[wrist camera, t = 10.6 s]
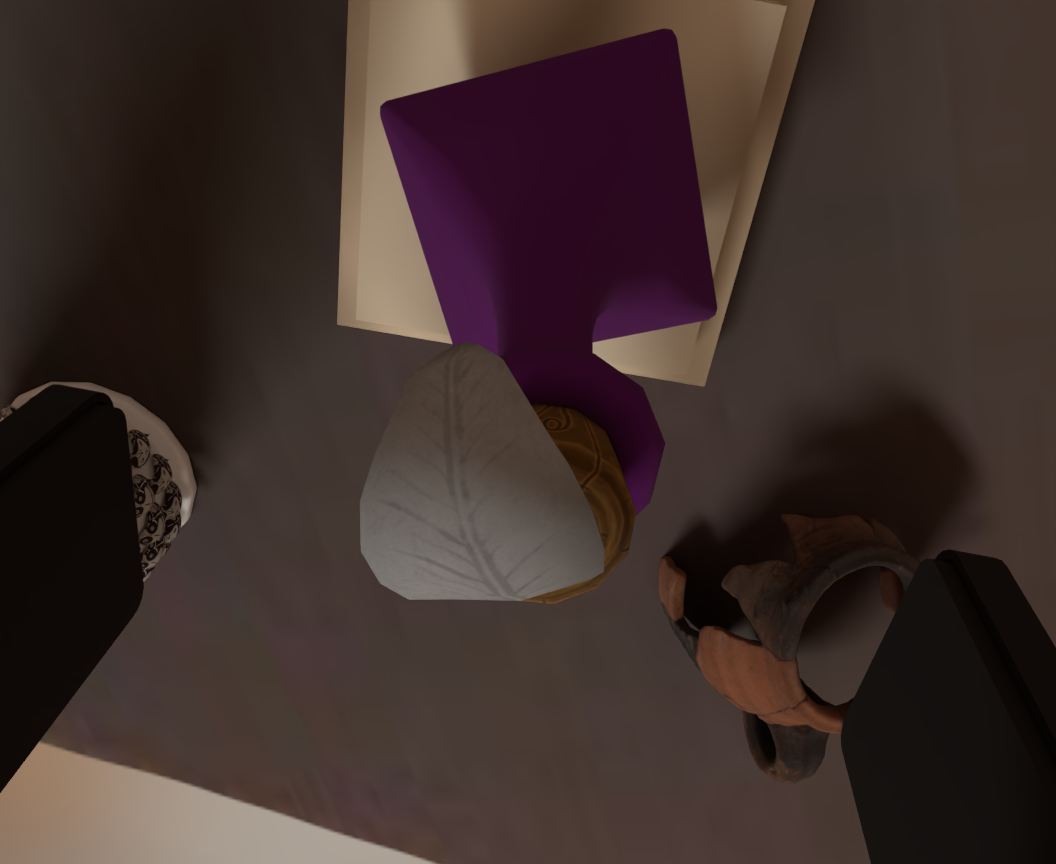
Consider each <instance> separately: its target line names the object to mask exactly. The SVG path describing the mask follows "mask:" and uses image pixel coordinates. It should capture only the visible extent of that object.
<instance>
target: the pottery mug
mask: <svg viewBox="0 0 1056 864" xmlns="http://www.w3.org/2000/svg"><path fill="white" fill-rule="evenodd" d="M781 519H782V521H783V522H784V523H785V524H786V526H787V528H788V531H789V533H790V540H791V544H792V547H793V552H794V556H795V563H794V564H792V563H788V562H785V561H782V560H767V561H762V562H759V563H756V564H752V565H742V564H741V565H737V566H735V567H733V568H732V569H731V570H730V571H729V572H728V574H727V575H726V576H725V577H724V578H723V580H722V584H721V585H722V588H724V589H725V590H726V591H728V592H729V593H730V594H731V595H732V596H733V597H735V598H737V599H738V600H739V604H740V607H741V609H742V611H743V612H744V614H745V615H746V616H747V618H748V619H749V620H750V622H751V623H752V625H753V627H754V629H755V631H756V632H757V634H758V636H759V638H760V641H756V640H749V639H745V638H743V637H740V636H737V635H735V634H733V633H731V632H729V631H728V630H726V629H724V628H722V627H720V626H709V625H707V626H704V627H702V628H701V629H700V632H699V631H696V630H694V629H692V628H691V627H689V625H688V623H687V622H686V620H685V618H684V594H685V586H686V579H687V576H686V573H685V572H684V571H682V570H681V569H679V568H677V567H676V565H675V563H674V561H673V560H672V558H671V557H670V556H663V558H662V559H661V561H660V567H659V572H658V588H659V594H660V599H661V604H662V607H663V610H664V612H665V614H666V616H667V617H668V619H669V621H670V625H671V627H672V629H673V631H674V633H675V635H676V636H677V637H678V638H679V640H680V641H681V643H682V645H683V647H684V648H685V649H686V651H687V653H688V655H689V656H690V658H691V659H692V660H693V662H694V663H695V665H696V666H697V667H698V669H699V670H700V671H701V672H702V673H703V675H704V676H705V678H706V679H707V681H708V682H709V683H710V684H712V685H713V687H714V688H715V689H716V690H717V691H719V692H720V693H721V694H722V695H723V696H725V697H726V699H727V700H729V701H730V702H731V703H732V704H734V705H735V706H737V707H738V708H740V709H741V710H742V714H743V722H744V728H745V733H746V737H747V741H748V744H749V748H750V751H751V754H752V756H753V758H754V760H755V762H756V764H757V766H758V767H759V768H760V769H761V770H762V771H763V772H764V773H766V774H767V775H769V776H770V777H771V778H772V779H774V780H776V781H779V782H782V783H785V784H794V783H796V782H798V781H800V780H804V779H807V778H809V777H811V776H812V775H814V774H815V772H816V771H817V769H818V768H819V766H820V765H821V763H822V760H823V758H824V755H825V748H826V743H827V739H828V736H829V734H830V733H835V734H838V733H839V734H841V731H842V725H843V721H844V718H845V716H846V713H847V711H848V709H849V707H850V705H851V703H852V701H853V699H854V698H853V699H851V700H850V701H849V702H846V703H843V704H840V705H837V706H835V705H833V704H831V703H829V702H826V701H824V700H822V699H821V698H820V697H819V696H818V695H817V694H816V693H815V692H813V691H812V690H811V689H810V688H809V687H808V686H807V685H806V684H805V683H804V682H803V681H802V679H801V678H800V676H799V671H798V663H797V658H796V654H797V650H798V645H799V640H800V636H801V632H802V628H803V626H804V624H805V621H806V619H807V617H808V615H809V614H810V612H811V611H812V609H813V607H814V605H815V603H816V602H817V601H818V600H819V598H820V597H821V596H822V594H823V593H824V592H825V591H826V590H827V589H828V588H829V587H830V586H831V585H832V584H833V583H834V582H835V581H837V580H838V579H840V578H842V577H843V576H845V575H846V574H849V573H851V572H853V571H856V570H858V569H861V568H864V567H868V566H874V565H875V566H883V567H886V568H883V569H882V570H881V571H880V576H879V579H880V589H881V593H882V599H883V602H884V605H885V606H886V608H887V609H889V610H890V611H893V612H896V611H897V609H898V607H899V605H900V603H901V601H902V599H903V597H904V594H905V592H906V590H907V588H908V586H909V584H910V582H911V580H912V578H913V576H914V574H915V572H916V570H917V568H918V566H919V565H920V563H921V562H920V561H919V560H918V559H916V558H915V557H913V556H912V555H910V554H909V553H907V552H906V550H905V549H904V547H903V545H902V543H901V542H900V541H899V540H898V538H897V537H896V536H895V534H894V533H893V532H892V531H891V530H889V528H887V527H886V526H884V525H883V524H881V523H880V522H878V521H877V520H875V519H873V518H871V517H865V518H863V519H862V518H860V517H859V516H858V515H855V514H848V515H841V516H838V517H830V518H814V517H806V516H803V515H797V514H782V515H781Z"/></svg>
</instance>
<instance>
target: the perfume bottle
mask: <svg viewBox="0 0 1056 864" xmlns="http://www.w3.org/2000/svg"><path fill="white" fill-rule="evenodd" d="M380 117H381V121H382V124H383V127H384V130H385V133H386V136H387V140H388V143H389V146H390V149H391V152H392V155H393V158H394V162H395V165H396V168H397V171H398V174H399V177H400V180H401V184H402V187H403V190H404V193H405V196H406V199H407V202H408V206H409V209H410V212H411V215H412V218H413V221H414V224H415V227H416V231H417V234H418V237H419V240H420V243H421V246H422V249H423V253H424V256H425V259H426V262H427V265H428V268H429V271H430V275H431V278H432V281H433V284H434V287H435V290H436V293H437V297H438V300H439V303H440V306H441V309H442V312H443V315H444V319H445V322H446V325H447V328H448V331H449V334H450V337H451V340H452V344H453V347H451V348H449V349H447V350H445V351H443V352H442V353H441V354H439V355H438V356H437V357H435V358H434V359H433V360H431V361H430V362H429V363H427V364H426V365H425V366H423V367H422V368H421V369H419V370H418V371H417V372H415V373H414V374H413V375H412V376H410V377H409V378H408V380H407V382H406V385H405V387H404V389H403V391H402V394H401V396H400V398H399V401H398V403H397V405H396V407H395V410H394V412H393V414H392V417H391V419H390V421H389V423H388V426H387V428H386V430H385V433H384V435H383V437H382V439H381V442H380V444H379V446H378V449H377V451H376V453H375V455H374V458H373V461H372V465H371V468H370V471H369V474H368V477H367V481H366V484H365V487H364V490H363V493H362V496H361V500H360V531H361V552H362V554H363V556H364V557H365V559H366V561H367V562H368V564H369V566H370V567H371V569H372V571H373V572H374V574H375V576H376V577H377V579H378V580H379V582H380V584H382V585H384V586H386V587H387V588H389V589H391V590H393V591H395V592H396V593H398V594H400V595H402V596H403V597H405V598H407V599H409V600H413V599H464V600H508V601H529V602H539V603H549V604H554V603H557V602H560V601H563V600H565V599H568V598H571V597H574V596H576V595H579V594H582V593H585V592H587V591H590V590H593V589H596V588H598V587H599V585H600V584H601V583H602V582H603V581H604V580H605V579H606V578H607V577H608V575H609V574H610V573H611V572H612V571H613V570H614V569H615V568H616V566H617V565H618V564H619V563H620V562H621V561H622V560H623V559H624V558H625V556H626V555H627V554H628V551H629V546H630V541H631V536H632V531H633V526H634V521H635V516H636V515H637V514H638V513H639V512H640V511H641V510H643V509H644V508H645V507H646V506H647V505H648V504H649V503H650V500H651V497H652V494H653V490H654V486H655V482H656V478H657V474H658V470H659V466H660V462H661V458H662V454H663V450H664V446H665V442H664V439H663V437H662V434H661V432H660V429H659V426H658V424H657V421H656V419H655V416H654V414H653V411H652V409H651V406H650V404H649V401H648V399H647V396H646V394H645V392H644V389H643V387H641V386H640V385H638V384H637V383H635V382H634V381H633V380H631V379H630V378H628V377H627V376H625V375H624V374H623V373H621V372H620V371H618V370H617V369H616V368H614V367H613V366H611V365H610V364H608V363H607V362H606V361H604V360H603V359H601V358H600V357H598V356H597V355H596V354H594V353H593V342H598V341H603V340H608V339H613V338H619V337H624V336H629V335H634V334H639V333H644V332H649V331H654V330H660V329H665V328H670V327H675V326H680V325H685V324H690V323H695V322H701V321H706V320H709V319H710V318H712V317H713V316H715V315H716V312H717V302H716V295H715V288H714V282H713V275H712V268H711V262H710V255H709V248H708V242H707V235H706V228H705V222H704V215H703V208H702V202H701V195H700V188H699V182H698V175H697V168H696V162H695V155H694V148H693V142H692V135H691V128H690V122H689V115H688V108H687V102H686V95H685V88H684V82H683V75H682V68H681V62H680V55H679V48H678V42H677V37H676V35H675V34H674V32H673V30H671V29H664V28H663V29H659V30H655V31H651V32H648V33H644V34H640V35H636V36H632V37H628V38H625V39H621V40H617V41H613V42H609V43H605V44H602V45H598V46H594V47H590V48H586V49H583V50H579V51H575V52H571V53H567V54H563V55H560V56H556V57H552V58H548V59H544V60H541V61H537V62H533V63H529V64H525V65H521V66H518V67H514V68H510V69H506V70H502V71H499V72H495V73H491V74H487V75H483V76H479V77H476V78H472V79H468V80H464V81H460V82H457V83H453V84H449V85H445V86H441V87H437V88H434V89H430V90H426V91H422V92H418V93H414V94H411V95H407V96H403V97H399V98H395V99H392V100H388V101H386V102H384V103H383V104H382V105H381V106H380Z"/></svg>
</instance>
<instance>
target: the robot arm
mask: <svg viewBox="0 0 1056 864" xmlns="http://www.w3.org/2000/svg"><path fill="white" fill-rule="evenodd" d="M143 589H144V582H143V573H142V563H141V554H140V544H139V535H138V525H137V516H136V507H135V497H134V488H133V478H132V469H131V460H130V450H129V441H128V431H127V422H126V417H125V414H124V412H123V411H122V410H121V409H119V408H116V407H114V406H113V402H112V400H111V399H110V397H109V396H108V395H107V394H105V393H103V392H97V391H92V390H87V389H81V388H76V387H70V386H65V385H60V384H52V385H50V386H48V387H46V388H45V389H43V390H42V391H41V392H39V393H38V394H37V395H35V396H34V397H33V398H31V399H30V400H29V401H27V402H26V403H25V404H23V405H22V406H21V407H19V408H18V409H17V410H15V411H14V412H13V413H11V414H10V415H9V416H7V417H6V418H5V419H3V420H2V421H0V793H1V791H2V790H3V789H4V787H5V786H6V785H7V783H8V782H9V781H10V779H11V778H12V777H13V776H14V774H15V773H16V772H17V770H18V769H19V768H20V766H21V765H22V763H23V762H24V761H25V760H26V758H27V757H28V756H29V754H30V753H31V751H32V750H33V749H34V748H35V746H36V745H37V744H38V742H39V741H40V740H41V738H42V737H43V736H44V734H45V733H46V732H47V730H48V729H49V728H50V726H51V725H52V724H53V722H54V721H55V720H56V718H57V717H58V716H59V714H60V713H61V712H62V710H63V709H64V708H65V706H66V705H67V704H68V702H69V701H70V700H71V698H72V697H73V696H74V694H75V693H76V692H77V690H78V689H79V688H80V686H81V685H82V684H83V682H84V681H85V680H86V679H87V677H88V676H89V675H90V673H91V672H92V671H93V669H94V668H95V667H96V665H97V664H98V663H99V661H100V660H101V659H102V657H103V656H104V655H105V653H106V652H107V651H108V649H109V648H110V647H111V645H112V644H113V643H114V641H115V640H116V639H117V637H118V636H119V635H120V633H121V632H122V631H123V629H124V628H125V627H126V625H127V624H128V623H129V621H130V620H131V619H132V617H133V616H134V614H135V613H136V611H137V609H138V607H139V605H140V602H141V599H142V595H143ZM841 746H842V752H843V756H844V760H845V764H846V768H847V771H848V775H849V779H850V783H851V787H852V791H853V795H854V799H855V803H856V806H857V810H858V814H859V818H860V822H861V826H862V830H863V834H864V838H865V841H866V845H867V849H868V853H869V857H870V861H871V864H1056V647H1055V646H1054V644H1053V642H1052V641H1051V639H1050V637H1049V636H1048V634H1047V632H1046V631H1045V629H1044V627H1043V626H1042V624H1041V622H1040V621H1039V619H1038V617H1037V616H1036V614H1035V612H1034V611H1033V609H1032V607H1031V606H1030V604H1029V602H1028V601H1027V599H1026V597H1025V596H1024V594H1023V592H1022V591H1021V589H1020V587H1019V586H1018V584H1017V582H1016V581H1015V579H1014V577H1013V576H1012V574H1011V572H1010V571H1009V569H1008V567H1007V566H1006V565H1005V564H1004V563H1003V561H1002V560H999V559H997V558H992V557H987V556H982V555H976V554H971V553H965V552H960V551H955V550H945V551H942V552H941V553H940V554H939V555H938V556H937V557H936V559H935V560H934V559H925V560H924V561H922V562H921V563H920V565H919V566H918V568H917V570H916V572H915V574H914V576H913V578H912V580H911V582H910V584H909V586H908V588H907V590H906V592H905V594H904V597H903V599H902V601H901V603H900V605H899V607H898V609H897V611H896V613H895V615H894V617H893V619H892V621H891V623H890V625H889V627H888V629H887V631H886V633H885V636H884V638H883V640H882V642H881V644H880V646H879V648H878V650H877V652H876V654H875V656H874V658H873V660H872V662H871V664H870V666H869V668H868V670H867V672H866V674H865V677H864V679H863V681H862V683H861V685H860V687H859V689H858V691H857V693H856V695H855V697H854V699H853V701H852V703H851V705H850V707H849V709H848V711H847V713H846V716H845V718H844V721H843V725H842V731H841Z"/></svg>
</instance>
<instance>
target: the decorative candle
mask: <svg viewBox="0 0 1056 864" xmlns="http://www.w3.org/2000/svg"><path fill="white" fill-rule="evenodd" d="M52 384H60V385H65V386H70V387H76V388H81V389H87V390H92V391H97V392H103V393H105V394H107V395H108V396H109V397H110V399H111V400H112V402H113V406H114V407H116V408H119V409H121V410H122V411H123V412H124V414H125V417H126V422H127V431H128V441H129V450H130V460H131V469H132V478H133V488H134V497H135V507H136V516H137V525H138V535H139V544H140V554H141V563H142V573H143V582H144V581H145V580H146V579H147V578H148V577H149V576H150V575H151V574H152V572H153V570H154V567H155V564H156V563H157V562H158V561H159V560H160V559H161V557H162V556H163V555H164V554H165V553H166V552H167V551H168V549H169V547H170V545H171V541H172V540H173V539H174V538H175V537H176V536H177V535H178V533H179V531H180V528H181V527H182V526H183V525H184V524H185V523H186V522H187V520H188V519H189V518H190V516H191V513H192V508H193V504H194V499H195V495H196V490H197V485H196V481H195V478H194V474H193V470H192V466H191V462H190V459H189V455H188V453H187V452H186V451H185V449H184V448H183V446H182V445H181V444H180V442H179V441H178V439H177V438H176V437H175V435H174V434H173V433H172V431H171V430H170V428H169V427H168V426H167V424H166V423H165V422H164V421H162V420H161V419H160V418H158V417H157V416H156V415H154V414H153V413H152V412H150V411H149V410H148V409H146V408H145V407H144V406H142V405H141V404H140V403H138V402H137V401H136V400H134V399H133V398H131V397H130V396H127V395H124V394H121V393H119V392H116V391H113V390H110V389H107V388H105V387H102V386H99V385H96V384H94V383H91V382H49V383H47V384H44V385H42V386H40V387H37V388H35V389H33V390H30V391H28V392H26V393H23V394H21V395H20V396H18V397H17V398H16V399H15V400H14V402H13V403H12V404H11V406H10V405H8V406H4V407H3V408H2V409H1V410H0V414H1V416H2V418H1V420H0V421H2V420H3V419H5V418H6V417H7V416H9V415H10V414H11V413H13V412H14V411H15V410H17V409H18V408H19V407H21V406H22V405H23V404H25V403H26V402H27V401H29V400H30V399H31V398H33V397H34V396H35V395H37V394H38V393H39V392H41V391H42V390H43V389H45V388H46V387H48V386H50V385H52Z"/></svg>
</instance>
